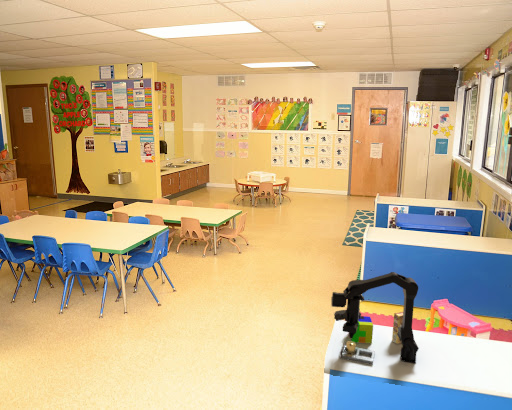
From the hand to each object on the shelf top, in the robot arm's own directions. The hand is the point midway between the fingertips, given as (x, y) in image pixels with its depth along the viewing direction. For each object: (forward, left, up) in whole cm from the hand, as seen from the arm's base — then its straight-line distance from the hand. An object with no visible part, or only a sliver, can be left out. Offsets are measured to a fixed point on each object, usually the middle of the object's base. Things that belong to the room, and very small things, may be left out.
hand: (351, 338), depth 205 cm
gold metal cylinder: (0, 0, -9) cm, 9 cm away
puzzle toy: (-3, -19, -9) cm, 21 cm away
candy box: (-23, -24, -9) cm, 34 cm away
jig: (-4, 0, -9) cm, 10 cm away
